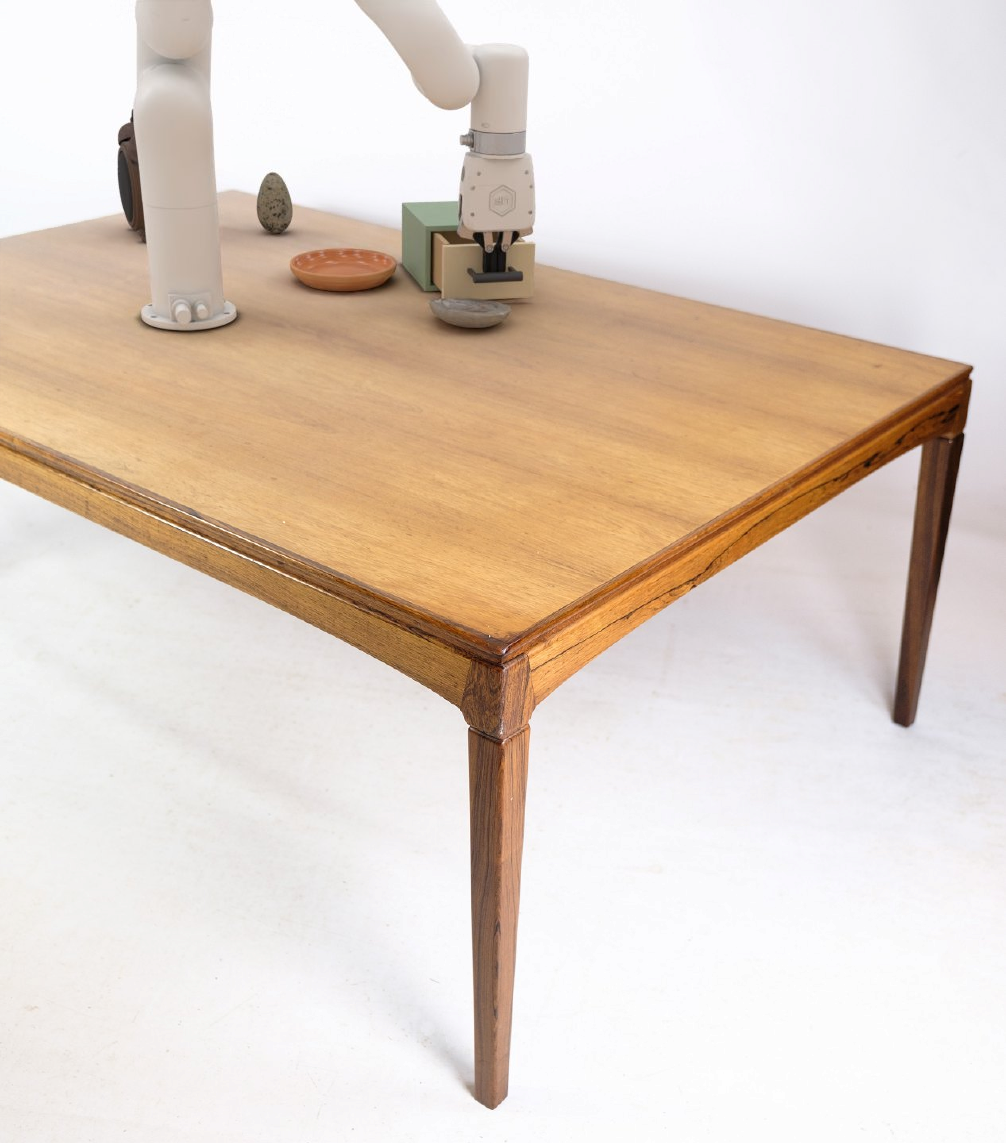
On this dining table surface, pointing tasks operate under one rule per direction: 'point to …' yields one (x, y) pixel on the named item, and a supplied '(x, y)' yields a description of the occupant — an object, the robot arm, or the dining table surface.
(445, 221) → the cabinet
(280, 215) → the decorative egg
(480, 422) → the dining table surface
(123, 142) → the alarm clock
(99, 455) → the dining table surface
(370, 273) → the saucer
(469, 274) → the drawer
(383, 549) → the dining table surface
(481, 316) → the fossil
